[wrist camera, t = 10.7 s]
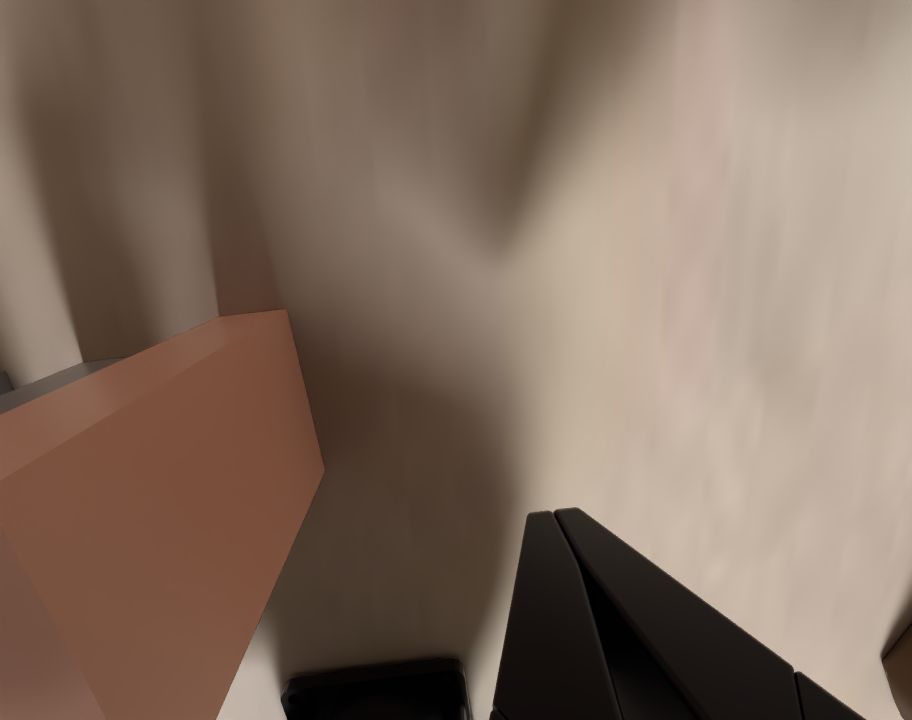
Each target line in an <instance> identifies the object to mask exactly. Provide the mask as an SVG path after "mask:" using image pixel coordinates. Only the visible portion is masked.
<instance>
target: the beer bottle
mask: <svg viewBox="0 0 912 720" xmlns="http://www.w3.org/2000/svg"><path fill="white" fill-rule="evenodd" d="M882 663H883V666H884V669H885V672H886V675H887V679H888V682H889V685H890V688H891V691H892V694H893V697H894V700H895V703H896V705H897V708H898V710H899V712H900V714H901V716H902V718H903V719H904V720H912V624H911V625H910V627H909V628H908V629H907V630H906V632H905V633H904V634H903V636H902V637H901V638H900V639H899V641H898V642H897V643H896V645H895V646H894V647H893V648H892V650H891V651H890V652H889V653H888V655H887V656H886V657H885V659H884V660H883V661H882Z"/></svg>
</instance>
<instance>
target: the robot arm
mask: <svg viewBox="0 0 912 720" xmlns="http://www.w3.org/2000/svg"><path fill="white" fill-rule="evenodd" d="M281 703H282V706H283V709H284V712H285V715H286V717H287V720H472V719H471V712H470V705H469V698H468V691H467V684H466V677H465V670H464V666H463V663H461V662H460V661H459V660H456V659H444V660H436V661H428V662H420V663H412V664H404V665H396V666H388V667H380V668H372V669H363V670H355V671H347V672H339V673H331V674H323V675H315V676H307V677H299V678H293V679H290V680H289V681H287V682H286V684H285V686H284V689H283V692H282V695H281ZM492 706H493V710H492V711H491V713H490V719H489V720H866V719H865V718H863V717H862V716H861V715H859V714H858V713H856V712H855V711H854V710H852V709H851V708H849V707H848V706H847V705H845V704H844V703H842V702H841V701H840V700H838V699H837V698H836V697H834V696H833V695H831V694H830V693H829V692H827V691H826V690H825V689H823V688H822V687H821V686H819V685H818V684H817V683H815V682H814V681H812V680H811V679H810V678H808V677H807V676H806V675H804V674H803V673H802V672H799V671H797V672H795V673H794V669H793V667H792V665H790V664H789V663H788V662H786V661H785V660H784V659H782V658H781V657H780V656H778V655H777V654H776V653H774V652H773V651H772V650H770V649H769V648H767V647H766V646H765V645H763V644H762V643H761V642H759V641H758V640H757V639H755V638H754V637H753V636H751V635H750V634H749V633H747V632H746V631H744V630H743V629H742V628H740V627H739V626H738V625H736V624H735V623H734V622H732V621H731V620H730V619H728V618H727V617H726V616H724V615H723V614H721V613H720V612H719V611H717V610H716V609H715V608H713V607H712V606H711V605H709V604H708V603H707V602H705V601H704V600H703V599H701V598H700V597H698V596H697V595H696V594H694V593H693V592H692V591H690V590H689V589H688V588H686V587H685V586H684V585H682V584H681V583H680V582H678V581H677V580H675V579H674V578H673V577H671V576H670V575H669V574H667V573H666V572H665V571H663V570H662V569H661V568H659V567H658V566H657V565H655V564H654V563H652V562H651V561H650V560H648V559H647V558H646V557H644V556H643V555H642V554H640V553H639V552H638V551H636V550H635V549H634V548H632V547H631V546H629V545H628V544H627V543H625V542H624V541H623V540H621V539H620V538H619V537H617V536H616V535H615V534H613V533H612V532H611V531H609V530H608V529H606V528H605V527H604V526H602V525H601V524H600V523H598V522H597V521H596V520H594V519H593V518H592V517H590V516H589V515H588V514H586V513H585V512H584V511H582V510H581V509H579V508H576V507H573V508H564V509H557V510H555V511H554V512H553V513H552V512H551V511H540V512H531V513H529V514H528V515H527V519H526V525H525V530H524V536H523V541H522V547H521V552H520V557H519V563H518V568H517V574H516V579H515V585H514V590H513V596H512V601H511V607H510V612H509V618H508V623H507V628H506V634H505V639H504V645H503V650H502V656H501V661H500V667H499V672H498V678H497V683H496V688H495V694H494V699H493V705H492Z"/></svg>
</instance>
